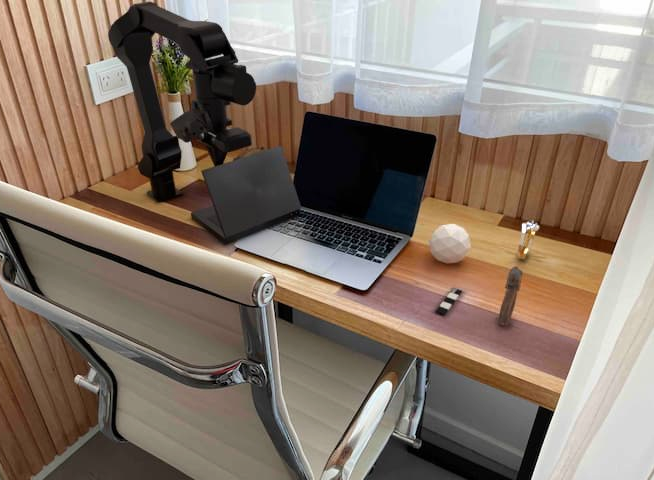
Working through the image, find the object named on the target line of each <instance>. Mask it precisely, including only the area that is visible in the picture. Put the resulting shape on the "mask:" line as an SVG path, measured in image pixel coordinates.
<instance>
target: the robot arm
mask: <svg viewBox="0 0 654 480" xmlns="http://www.w3.org/2000/svg"><path fill="white" fill-rule="evenodd" d="M156 34H157V35H159V36H161V37H163V38H165V39H167V40H169V41H172V42H174V43H175V44H176V45H178V47H179V51H180V52H181V53H182V54H183V55H185V56H186V57H187V58H188V59H189V60H188V61H187V62H186V63H185V65H184V67H185V68H186V69H188V70H192V78H193V86H194V87H193V88H194V94H195V95H194V96H195V99H192V100H191V102H190V105H191V106H190V107H191V109H189V110H188V111H185V112H183V113H182V114H181V115H179V116H178V117H176V118H175V119H174V120H172V121H171V122H170V124H169V125H170V127H171V129H172V130H173V132H174V134H175V135H173V134H172V133H171V131H169V130H168V128H167V126H166V122H165V118H164V114H163V110H162V106H161V103H160V102H161V101H160V98H159V94H158V91H157V87H156V83H155V79H154V75H153V71H152V68H151V67H152V66H151V60H152V56H153V51H154V43H153V37H154V36H155V35H156ZM107 38H108V41H109V44H110V45H111V47H112V50H113V52H114V55H115V57H116V58H117V59H118V60H119V61H120V62H121V63H122V64H123V65H124V66H125V67H126V70H127V73H128V77H129V80H130V84H131V88H132V92H133V96H134V99H135V102H136V106H137V110H138V113H139V116H140V121H141V123H142V124H141V125H142V128H143V131H144V134H143V139H142V142H141V152H142V157H141V159H140V160H139V163H138V164H137V170H138V171H139V174H140V175H141V176H143V177H146V178H147V179H149V184H150V190H147V191H146V194H147V195H148V196H149V197H151V198H152V199H153V200H154V201H155V202H157V203H162V202H164V201H167V200H171V199H174V198H176V197H181V196H182V195H183V194H182V192H181V191H180V190H179V189H177V188H176V184H175V183H176V182H175V177H174V171H175V170H179V169H181V163H182V154H183V151H182V149H181V146H180V142H179V140H181V141H182V142H184V143H186V144H187V143H190V142H192V141H193V140H194V139H196V140H197V141H199V142H201V144H203V145H204V146H205V148H206V151H207V153H208V155H209V158H210V159H211V161H212V165H213V167H214V166H218V165H221V164H224V163H225V160H226V158H227V155H228V154H229V153H232V152H235V151H238V150H242V149H245V148H249V147H252V145H253V140H252V138H253V137H252V134H251V133H249V132H248V131H246V130H244V129H242V128H241V127H238V126H236V127H232V128H230V126H233V120H232V119H230V118H228V110H227V106H231V103H233V104H236V105H239V106H247V105H249V104H251V102H253V100H254V98H255V95H256V92H257V82H256V81H255V78H254V77H253V75H252V74H250V73H249V72H247V66H246V65H244V64H238V63H239V59H238V56H237V54H236V51H235V49H234V48H233V47H232V44H231V43H230V41H229V39H228V37H227V35H226V33H225V32H224V30H223V27H222V26H221V25H220V24H219V23H217V22H213V21H207V20H190V19H187V18H185V17H183V16H181V15H178V14H177V13H174V12H172V11H170V10H168V9H165V8H163V7H161V6H159V5H158V4H157V3H156V2H153V1H150V0H149V1H143V2H138V3H137V2H136V3H133V4H132V5H131V6H129V8H128V10H127V11H126V12H124V13H123V14H122V15H121V16H119V17H118V18H117V19H116V20H114V22H113V23H112V24H111V25H110V28H109V30H108V32H107Z"/></svg>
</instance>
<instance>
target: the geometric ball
mask: <svg viewBox="0 0 654 480" xmlns="http://www.w3.org/2000/svg"><path fill="white" fill-rule="evenodd" d="M428 244H429V250H430V253H431V255H432V256H433V257H434V258H435V260H437V261H439V262H441V263H443V264H446V265H447V264H458V263H460V262H461V261H462V260H464V259H465V258H466V257H467V255H468V254H469V251H470V250H471V248H472V245H471V239H470V235H469V233H468V232H467V231H466V229H465V228H464V227H462V226H460V225H458V224H455V223H448V224H441V225H439V227H437V228H436V229H435V230H434V232H433V233H432V235H431V236H430V238H429V240H428Z"/></svg>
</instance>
